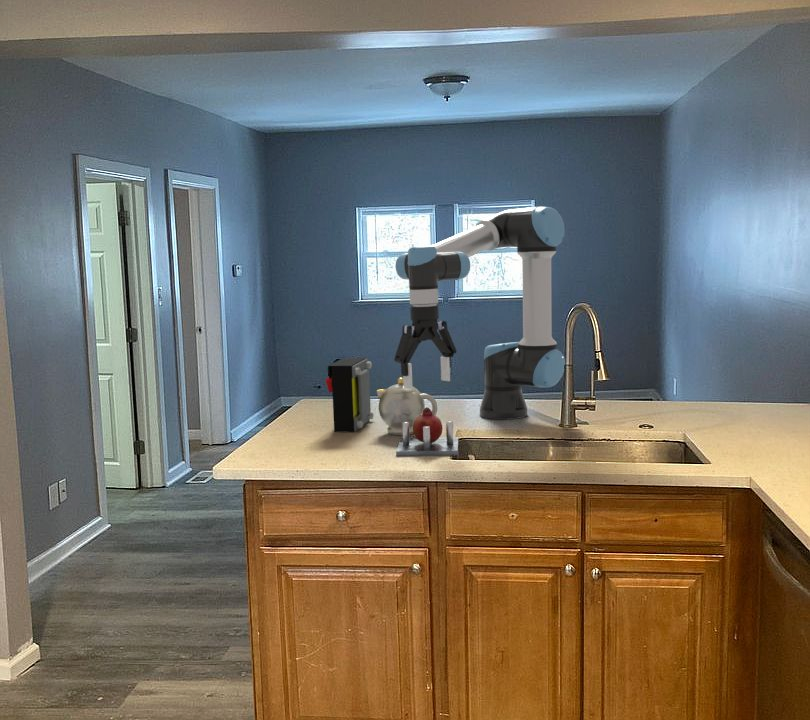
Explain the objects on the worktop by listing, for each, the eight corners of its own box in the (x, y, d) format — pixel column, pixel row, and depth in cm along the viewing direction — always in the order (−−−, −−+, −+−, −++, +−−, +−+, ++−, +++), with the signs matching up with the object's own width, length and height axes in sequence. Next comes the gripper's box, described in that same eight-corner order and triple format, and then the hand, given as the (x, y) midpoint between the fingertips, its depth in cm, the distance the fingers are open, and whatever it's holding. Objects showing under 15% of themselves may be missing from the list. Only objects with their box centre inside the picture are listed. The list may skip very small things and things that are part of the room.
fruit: (445, 440, 231) (444, 404, 230) (440, 447, 224) (439, 410, 222) (416, 440, 233) (415, 404, 232) (410, 447, 225) (409, 410, 224)
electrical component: (361, 432, 251) (358, 365, 249) (328, 431, 254) (325, 365, 251) (374, 420, 269) (372, 357, 266) (343, 419, 271) (341, 358, 268)
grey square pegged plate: (458, 441, 236) (457, 415, 235) (457, 455, 220) (456, 428, 219) (401, 442, 237) (400, 416, 236) (396, 455, 221) (395, 428, 220)
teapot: (372, 437, 244) (370, 381, 242) (382, 427, 257) (380, 374, 255) (434, 438, 240) (432, 381, 238) (441, 428, 254) (439, 374, 252)
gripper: (448, 300, 234) (451, 376, 237) (378, 308, 218) (382, 389, 221) (467, 301, 229) (470, 379, 232) (397, 309, 213) (400, 392, 216)
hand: (427, 384), depth 226 cm, fingers open, 13 cm apart
